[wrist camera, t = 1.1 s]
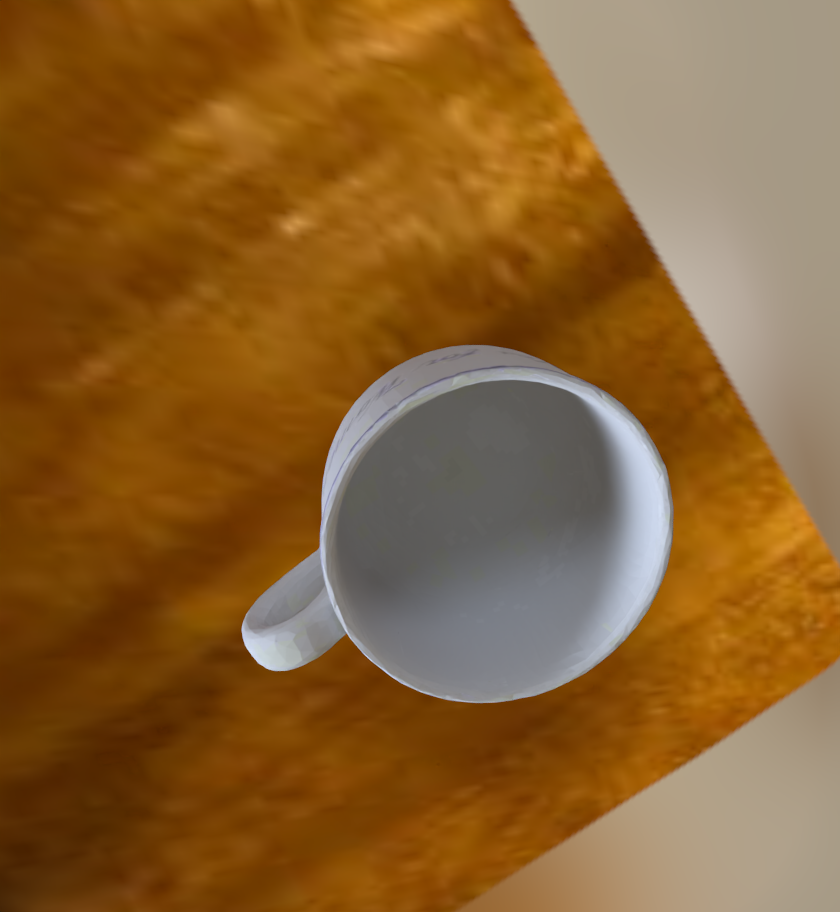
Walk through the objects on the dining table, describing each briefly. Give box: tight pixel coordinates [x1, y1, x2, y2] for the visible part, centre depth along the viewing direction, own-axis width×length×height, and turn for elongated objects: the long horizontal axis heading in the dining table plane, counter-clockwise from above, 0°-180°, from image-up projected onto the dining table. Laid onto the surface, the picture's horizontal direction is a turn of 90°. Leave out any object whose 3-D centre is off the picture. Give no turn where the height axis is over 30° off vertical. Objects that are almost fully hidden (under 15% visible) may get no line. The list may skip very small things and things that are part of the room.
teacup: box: [242, 345, 673, 703], centre depth 27 cm, size 14×11×8 cm
